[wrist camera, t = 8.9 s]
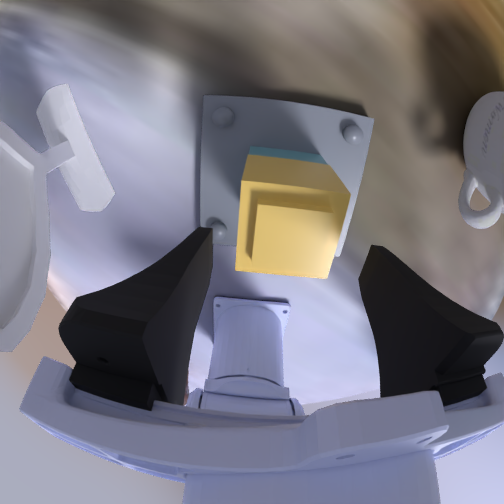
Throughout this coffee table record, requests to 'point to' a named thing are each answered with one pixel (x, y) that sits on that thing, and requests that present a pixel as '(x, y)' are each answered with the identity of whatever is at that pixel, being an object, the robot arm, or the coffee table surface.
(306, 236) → the ochre brick
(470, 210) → the teacup
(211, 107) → the base plate
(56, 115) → the heart sculpture
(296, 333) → the coffee table surface
